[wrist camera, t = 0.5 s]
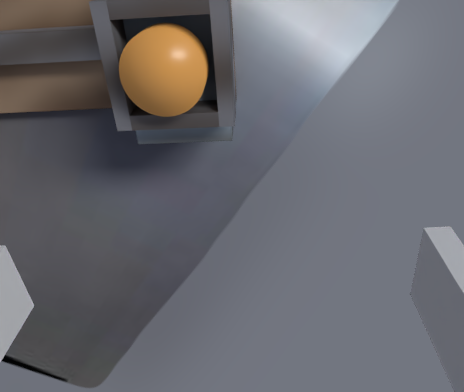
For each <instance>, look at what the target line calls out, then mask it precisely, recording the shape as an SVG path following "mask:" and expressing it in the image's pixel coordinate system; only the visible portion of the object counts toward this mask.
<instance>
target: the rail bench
mask: <svg viewBox="0 0 464 392" xmlns="http://www.w3.org/2000/svg"><path fill="white" fill-rule="evenodd" d="M157 23H174V24H178V25H180V26H183V27H185V28H186V29H188V30H190V31H191V32H192V33H193V34H194V35H195V36H196V37H197V38H198V39H199V40H200V41H201V43H202V45H203V46H204V48H205V50H206V53H207V56H208V61H209V74H208V78H207V82H206V85H205V88H204V90H203V93H202V95H201V97H200V99H199V100H198V102H197V103H196V104H195V105H194V106H193V107H192V108H191V109H190V110H188V111H186V112H185V113H182V114H180V115H176V116H170V117H162V116H157V115H153V114H150V113H148V112H146V111H144V110H142V109H141V108H139V107H138V106H137V105H136V104H135V103H133V101H132V100H131V99H130V98H129V97H128V95H127V94H126V92H125V90H124V88H123V86H122V84H121V80H120V75H119V61H120V57H121V54H122V52H123V49H124V48H125V46H126V45H127V43H128V42H129V41H130V40H131V39H132V38H133V37H134V36H136V35H137V34H138V33H140V32H141V31H142V30H144V29H145V28H147V27H148V26H151V25H153V24H157ZM103 108H112V109H113V113H114V118H115V122H116V127H117V131H136V136H137V141H138V144H159V143H184V142H210V141H232V136H233V126H235V118H236V81H235V63H234V45H233V28H232V10H231V0H0V113H16V112H38V111H59V110H81V109H103Z"/></svg>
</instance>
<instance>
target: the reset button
mask: <svg viewBox="0 0 464 392" xmlns="http://www.w3.org/2000/svg"><path fill="white" fill-rule="evenodd" d="M208 74H209V61H208V56H207V53H206V50H205V48H204V46H203V45H202V43H201V41H200V40H199V39H198V38H197V37H196V36H195V35H194V34H193V33H192V32H191V31H190V30H188V29H186V28H185V27H183V26H180V25H178V24H174V23H157V24H153V25H151V26H148V27H147V28H145V29H144V30H142V31H141V32H140V33H138V34H137V35H136V36H134V37H133V38H132V39H131V40H130V41H129V42H128V43H127V45H126V46H125V48H124V49H123V52H122V54H121V57H120V61H119V75H120V80H121V84H122V86H123V88H124V90H125V92H126V94H127V95H128V97H129V98H130V99H131V100H132V101H133V103H135V104H136V105H137V106H138V107H139V108H141V109H142V110H144V111H146V112H148V113H150V114H153V115H157V116H162V117H170V116H176V115H180V114H182V113H185V112H186V111H188V110H190V109H191V108H192V107H193V106H194V105H195V104H196V103H197V102H198V100H199V99H200V97H201V95H202V93H203V90H204V88H205V85H206V82H207V78H208Z"/></svg>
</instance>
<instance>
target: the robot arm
mask: <svg viewBox="0 0 464 392" xmlns="http://www.w3.org/2000/svg"><path fill="white" fill-rule="evenodd" d="M410 295H411V297H412V299H413V302H414V304H415V306H416V308H417V310H418V312H419V315H420V317H421V319H422V321H423V324H424V326H425V328H426V330H427V332H428V335H429V337H430V339H431V341H432V343H433V346H434V348H435V350H436V352H437V354H438V357H439V359H440V361H441V363H442V366H443V368H444V370H445V372H446V374H447V377H448V379H449V381H450V383H451V385H452V388H453V389H454V392H464V245H463V244H462V242H461V241H460V240H459V238H458V237H457V235H456V234H455V233H454V231H453V230H452V228H451V227H431V228H424V229H423V234H422V239H421V244H420V249H419V253H418V258H417V263H416V268H415V273H414V278H413V283H412V288H411V293H410ZM33 307H34V304H33V302H32V300H31V298H30V296H29V294H28V292H27V289H26V287H25V285H24V283H23V281H22V279H21V277H20V275H19V273H18V271H17V269H16V267H15V265H14V263H13V260H12V258H11V256H10V254H9V252H8V250H7V248H6V246H0V362H1V360H2V359H3V357H4V355H5V354H6V352H7V350H8V349H9V347H10V345H11V344H12V342H13V340H14V339H15V337H16V335H17V334H18V332H19V330H20V329H21V327H22V325H23V324H24V322H25V320H26V319H27V317H28V315H29V314H30V312H31V310H32V309H33Z"/></svg>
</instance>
